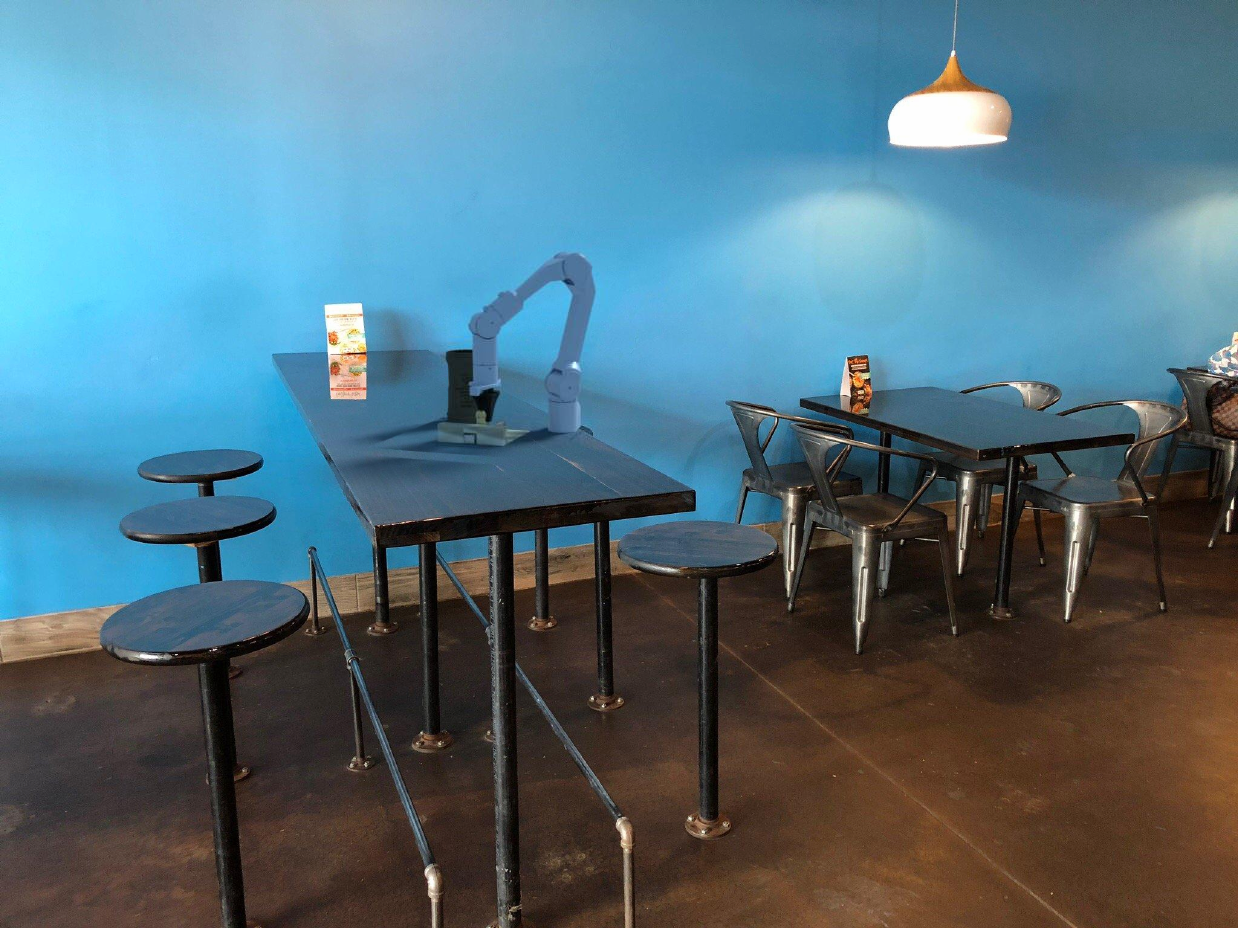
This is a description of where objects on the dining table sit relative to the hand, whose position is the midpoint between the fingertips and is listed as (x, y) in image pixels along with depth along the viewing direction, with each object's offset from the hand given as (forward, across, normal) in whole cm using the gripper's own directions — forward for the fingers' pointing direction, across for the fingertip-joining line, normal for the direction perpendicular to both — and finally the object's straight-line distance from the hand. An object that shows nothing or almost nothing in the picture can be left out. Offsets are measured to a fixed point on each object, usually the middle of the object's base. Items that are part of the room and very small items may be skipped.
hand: (486, 421), depth 224 cm
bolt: (+3, +6, 0) cm, 7 cm away
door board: (+5, +1, 0) cm, 5 cm away
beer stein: (+5, -17, -13) cm, 22 cm away
